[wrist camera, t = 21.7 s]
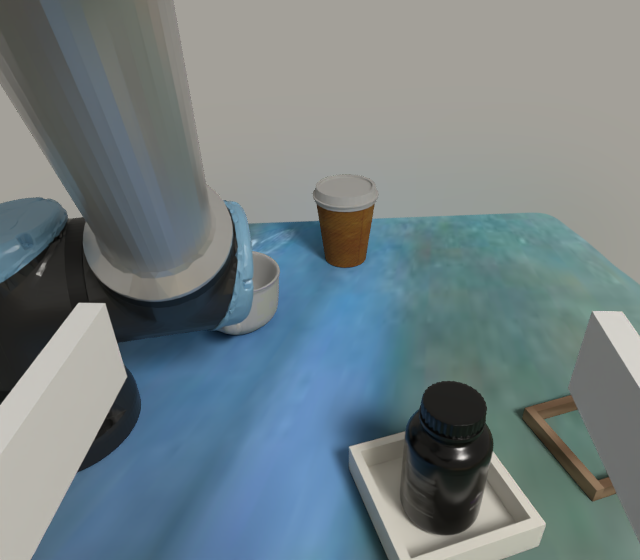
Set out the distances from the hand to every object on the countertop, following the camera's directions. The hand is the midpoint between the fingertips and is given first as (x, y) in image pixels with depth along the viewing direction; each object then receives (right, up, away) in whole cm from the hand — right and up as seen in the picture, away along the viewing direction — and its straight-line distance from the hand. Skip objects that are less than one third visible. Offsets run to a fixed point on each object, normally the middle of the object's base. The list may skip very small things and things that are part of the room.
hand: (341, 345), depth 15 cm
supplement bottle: (+10, -18, +32) cm, 37 cm away
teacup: (-11, -4, +54) cm, 55 cm away
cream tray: (+10, -18, +32) cm, 38 cm away
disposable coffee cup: (+3, +5, +68) cm, 69 cm away
